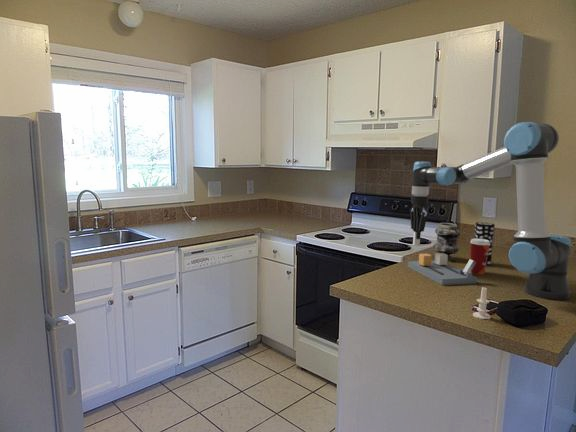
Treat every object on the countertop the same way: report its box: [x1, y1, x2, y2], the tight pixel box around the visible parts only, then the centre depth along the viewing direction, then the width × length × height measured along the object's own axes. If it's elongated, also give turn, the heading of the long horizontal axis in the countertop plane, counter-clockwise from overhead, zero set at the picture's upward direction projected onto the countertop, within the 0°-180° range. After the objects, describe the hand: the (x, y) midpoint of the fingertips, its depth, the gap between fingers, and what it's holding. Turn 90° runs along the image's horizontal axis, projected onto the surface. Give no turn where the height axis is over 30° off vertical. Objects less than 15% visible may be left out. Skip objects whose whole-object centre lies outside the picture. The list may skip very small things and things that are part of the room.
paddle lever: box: [462, 258, 476, 275], centre depth 174 cm, size 3×2×7 cm, turn 13°
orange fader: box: [418, 253, 433, 266], centre depth 188 cm, size 4×4×4 cm
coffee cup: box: [469, 238, 490, 275], centre depth 187 cm, size 8×8×15 cm
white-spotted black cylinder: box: [473, 221, 496, 267], centre depth 202 cm, size 8×8×20 cm
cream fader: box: [434, 252, 448, 265], centre depth 190 cm, size 4×4×4 cm
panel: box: [407, 259, 478, 286], centre depth 183 cm, size 28×16×4 cm, turn 13°
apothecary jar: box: [433, 222, 461, 262], centre depth 211 cm, size 12×12×18 cm
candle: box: [472, 286, 491, 320], centre depth 136 cm, size 5×5×10 cm
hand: (416, 245), depth 195 cm, fingers closed
